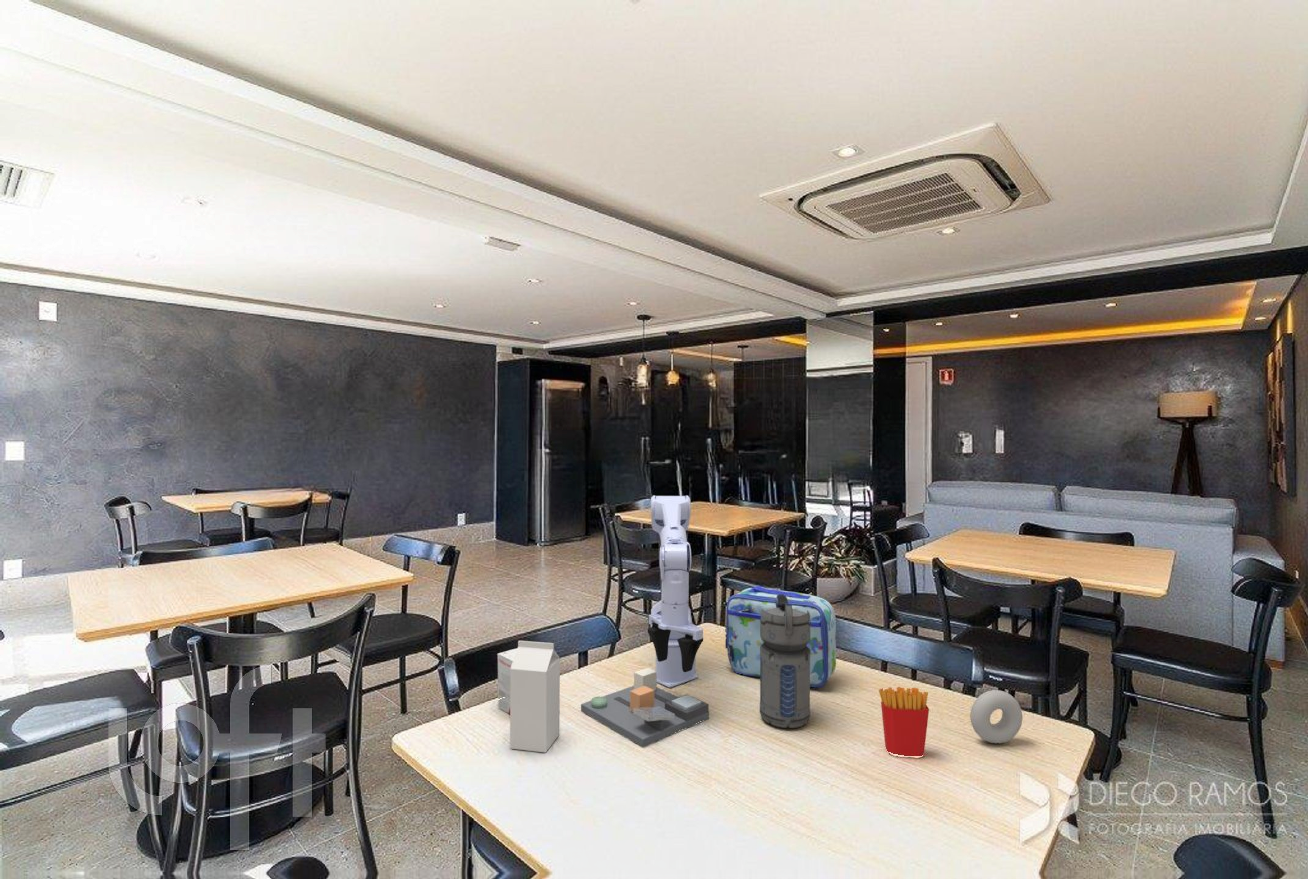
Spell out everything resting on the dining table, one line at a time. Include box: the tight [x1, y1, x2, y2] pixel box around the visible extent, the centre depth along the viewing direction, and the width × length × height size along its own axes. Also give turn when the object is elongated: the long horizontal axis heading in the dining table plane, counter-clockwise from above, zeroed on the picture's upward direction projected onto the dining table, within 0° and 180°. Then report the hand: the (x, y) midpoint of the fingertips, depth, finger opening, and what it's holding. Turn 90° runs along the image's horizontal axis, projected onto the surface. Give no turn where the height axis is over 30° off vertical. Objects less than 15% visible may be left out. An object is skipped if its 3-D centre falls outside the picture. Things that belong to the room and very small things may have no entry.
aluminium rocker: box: [633, 706, 675, 721], centre depth 119 cm, size 7×4×1 cm, turn 132°
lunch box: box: [724, 585, 837, 688], centre depth 148 cm, size 26×11×21 cm, turn 58°
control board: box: [580, 685, 710, 748], centre depth 127 cm, size 18×20×3 cm
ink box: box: [497, 647, 518, 715], centre depth 129 cm, size 9×5×12 cm, turn 44°
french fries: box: [878, 686, 930, 756], centre depth 112 cm, size 8×4×12 cm, turn 83°
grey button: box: [672, 694, 702, 711], centre depth 126 cm, size 4×4×2 cm
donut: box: [969, 689, 1024, 744], centre depth 116 cm, size 10×4×10 cm, turn 96°
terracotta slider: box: [630, 686, 654, 712], centre depth 125 cm, size 4×3×4 cm
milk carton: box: [509, 640, 561, 753], centre depth 116 cm, size 7×7×19 cm
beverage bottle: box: [759, 594, 811, 729], centre depth 126 cm, size 10×13×25 cm
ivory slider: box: [633, 667, 658, 690], centre depth 135 cm, size 4×3×4 cm
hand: (674, 665), depth 128 cm, fingers open, 7 cm apart
